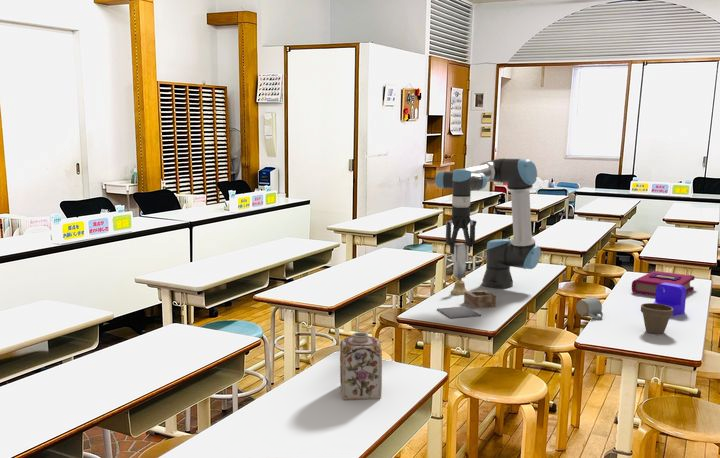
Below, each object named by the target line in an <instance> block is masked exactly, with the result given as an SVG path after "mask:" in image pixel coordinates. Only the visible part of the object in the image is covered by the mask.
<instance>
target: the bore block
mask: <svg viewBox="0 0 720 458" xmlns="http://www.w3.org/2000/svg"><path fill="white" fill-rule="evenodd" d="M463 296H464V297H463V302H464V303H465V304H466V305H468V306H470V307H471V308H473V309H482V308H493V307H495V308H496V307H497V306H496V305H497V304H496V303H497V295H495V294H494V293H492V292H489V291H487V290H486V289H484V290H470V291H468V290H467V292H464V295H463Z"/></svg>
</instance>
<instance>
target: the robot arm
mask: <svg viewBox="0 0 720 458" xmlns="http://www.w3.org/2000/svg"><path fill="white" fill-rule="evenodd" d="M537 177H538V170H537V166H536V164H535V163H534V162H533V161H532V160H531V159H528V158H527V159H525V158H502V157H501V158H496V159H491V160H488V161H483V162H481V163H480V164H479V165H474V166H470V167H465V168H457V169H454V170H450V171H446V170H444V171H438V172H437V173H436V175H435V181H434V182H435V186H436V187H437V188H438V189H444V190H445V189H447V190H452V197H451V198H452V199H451V201H452V202H451V205H452V206H451V219H450V220H446V221H445V222H444V224H445V244H446V245H448V246H449V253H450V254H451V262H453V263H454V262H456V246H455V243H456V241H457V238H458V234H459V231H460V229H462V231H463V232H462V233H463V237H464V241H465V242H464V243H465V244H466V262H469V254H470V253H471V247H472V245H474V244H475V243H476V224H477V220H474V219H473V220H472V219H471V207H470V206H471V198H472V197H471V193H472V192H474V191H477V192H478V191H482V190H484V189H485V188H486V187H487V184H488V183H489V182H491V183H492V182H493V183H501V184H507V185H506V186H507V187H506V188H507V189H508V191H510V200H511V202H510V203H511V214H512V215H511V216H512V233H513V235H512V236H513V239H510V238H500V239H499V238H498V239H492V240H489V241H487V244H486V250H485V251H486V264H485V265H486V266H485V268H486V269H485V272H484V274H483V278H482V282H481V283H482V286H484V287H488V288H492V289H493V288H494V289H495V288H496V289H506V288H507V289H508V288H511V287H513V286H514V281H513V277H512V274H511V267H512V268H518V269H523V270H526V269H527V270H533V269H535V268H536V267H537V265H538V264H539V262H540V259H541V252H542V249H541V248H540V246H539V245H536V239H534V238H533V235H532V234H533V233H532V218H531V217H532V215H531V197H530V196H531V194H530V190H531V189H532V188H533V185H534V184H535V183H536V181H537ZM468 226H469V227H468ZM452 227H453V228H452Z"/></svg>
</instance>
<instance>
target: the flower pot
mask: <svg viewBox="0 0 720 458" xmlns="http://www.w3.org/2000/svg"><path fill="white" fill-rule="evenodd" d="M640 312H641V313H642V318H643V322H644V328H645V331H646V332H647V333H648V334H649V333H650V334H655V335H662V334H664V333H665V331H666V328H667V326H668V323H669V321H670V317H673V316H672V315H673V308H672V307H670V306H667V305H663V304H655V303H654V302H647V303H642V304H641V305H640Z"/></svg>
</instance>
